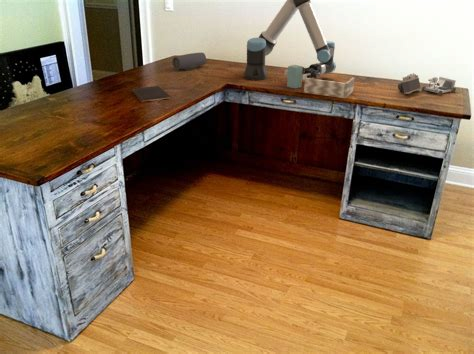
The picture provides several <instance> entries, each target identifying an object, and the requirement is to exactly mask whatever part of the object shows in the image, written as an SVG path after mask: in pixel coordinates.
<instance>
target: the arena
mask: <svg viewBox="0 0 474 354" xmlns="http://www.w3.org/2000/svg"><path fill="white" fill-rule="evenodd" d="M355 78H356V77H354V76H353V77H351V78H350V79H349V80H348V81H346V82H339V81H334V80H332V81H331V80H325V79H324V80H323V79H317V78H315V79H314V78H305V79H304V87H303V89H304V90H303V93H304V94H305V93H306V94H313V95H319V96H325V97H326V96H327V97H332V98H333V97H334V98H339V99H347V98H348V97H349V96H350V95H351V94H352V93H354V86H355Z"/></svg>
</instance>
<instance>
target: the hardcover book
mask: <svg viewBox="0 0 474 354" xmlns="http://www.w3.org/2000/svg"><path fill="white" fill-rule="evenodd" d="M131 90H132V91H133V92H134V93H135V94H136V95H137V96H138V98H139V99H140V100H141V101H144V100H157V99H165V98H170V99H171V97H172V96H171V95H170V94H168V93H167V92H166V91H165V90H164V89H163V88H162V87H160V86H159V85H156V86H147V87H138V88H132V89H131Z"/></svg>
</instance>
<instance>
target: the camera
mask: <svg viewBox="0 0 474 354" xmlns="http://www.w3.org/2000/svg"><path fill="white" fill-rule="evenodd" d="M397 89H398V91H399V92H403V94H406V95H409V94H412V93H413V92H419V91H421V90H422V86H421V83H420V77H419V75H417V73H409V74H408V75H407V76H404V77H402V81H401V82H398V83H397Z"/></svg>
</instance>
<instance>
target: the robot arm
mask: <svg viewBox="0 0 474 354" xmlns="http://www.w3.org/2000/svg"><path fill="white" fill-rule="evenodd" d="M311 2H312V0H286V1H285V2H284V4H283V5H282V6H281V8H280V10H279V11H278V13H277V14H276V15H275V17H274V18H273V19H272V21H271V23H270V24H269V26H268V27H267V28H266V30H265V31H262V32H261V33H260V34H259V36H258V37H253V38H252V37H251V38H249V39H248V40H247V41H246V66H245V70H244V73H243V78H244V79H246V80H250V81H251V80H252V81H257V80H258V81H259V80H265V79H268V71H267V67H266V57H267V56H268V55H270V54H271V53H272V52H273V50H274V48H275V46H276V44H277V42H278V41H277V39H278V38H279V36H280V34H281V33H282V32H283V31H284V29H285V28H286V27H287V25H288V24H289V22H290V21H291V19H292V18H293V17H294V15H295V14H296V12H297V11H299V14H300V16H301V19H302V22H303V24H304V25H305V28H306V31H307V33H308V36H309V38H310V40H311V43H312V45H313V48H314V51H315V52H316V59H317V61H318V62H317V63H313V64H310V65H309V66H308V67H304V66H303V70H302V81H305V78H310V79H317V78H318V77H320V76H322V75H326V74H327V75H328V74H331V73H333V72H334V71H336V69H337V65H336V62H335V61H334V56H335V55H334V54H335V49H336V47H335V46H336V45H335V42H334V41H329V40H326V37H325V35H324V32H323V31H322V28H321V26H320V23H319V21H318V18H317V15H316V13H315V11H314V8H313V6H312V3H311ZM284 76H288V69H285V70H284Z"/></svg>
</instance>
